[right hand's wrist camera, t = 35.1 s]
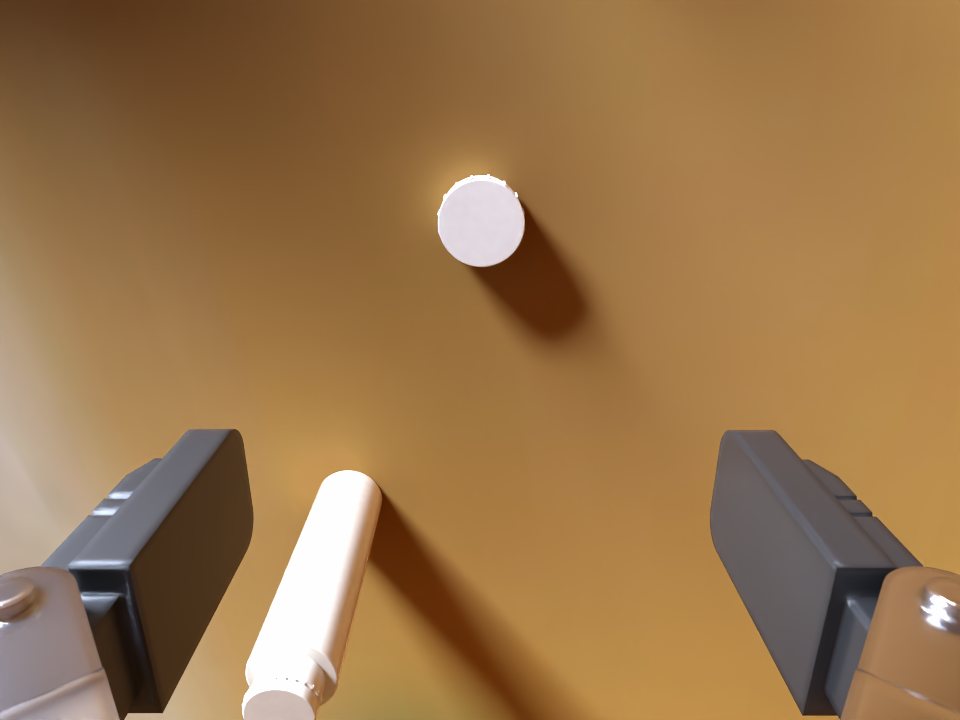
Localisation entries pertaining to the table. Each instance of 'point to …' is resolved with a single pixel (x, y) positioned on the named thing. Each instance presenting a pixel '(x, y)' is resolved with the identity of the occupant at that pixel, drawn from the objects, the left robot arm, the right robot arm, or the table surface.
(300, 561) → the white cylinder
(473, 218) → the lid
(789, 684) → the right robot arm
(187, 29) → the table surface
